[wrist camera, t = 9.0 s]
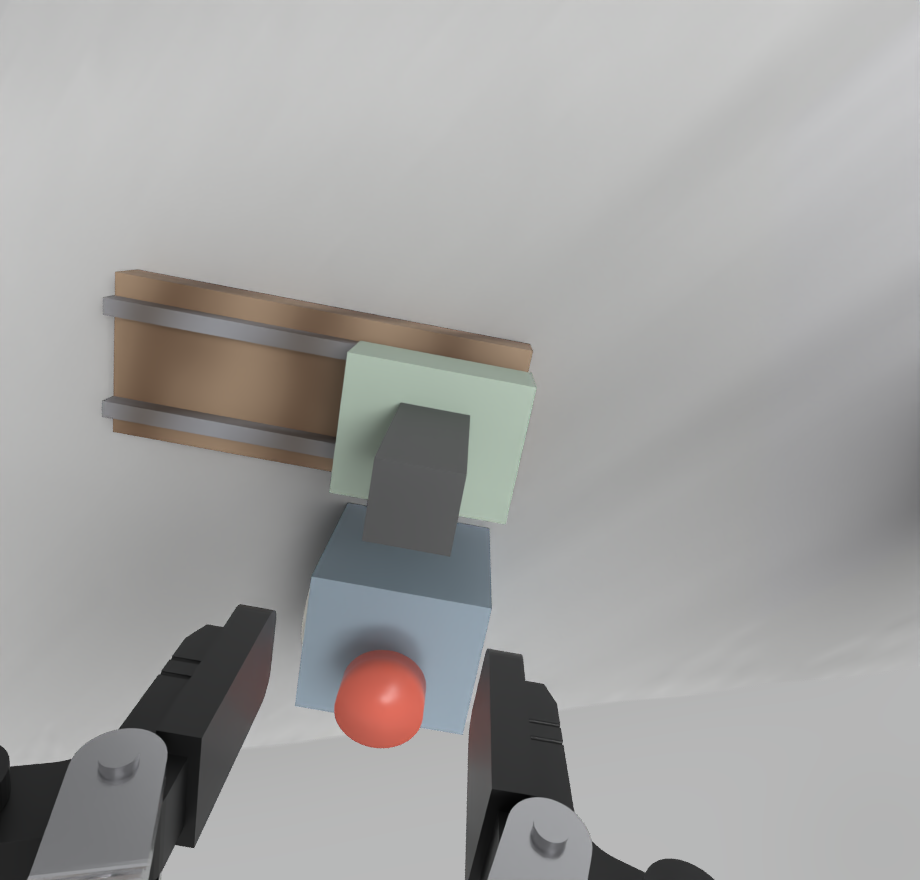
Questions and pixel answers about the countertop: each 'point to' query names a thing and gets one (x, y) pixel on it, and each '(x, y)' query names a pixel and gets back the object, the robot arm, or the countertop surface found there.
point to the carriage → (428, 443)
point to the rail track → (252, 365)
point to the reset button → (381, 699)
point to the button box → (398, 616)
